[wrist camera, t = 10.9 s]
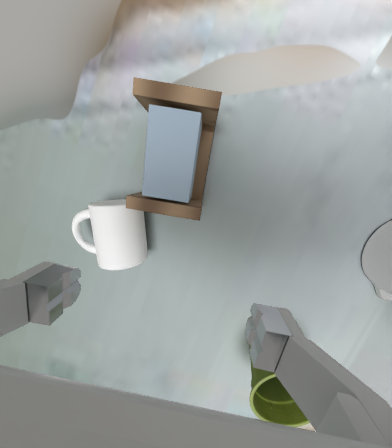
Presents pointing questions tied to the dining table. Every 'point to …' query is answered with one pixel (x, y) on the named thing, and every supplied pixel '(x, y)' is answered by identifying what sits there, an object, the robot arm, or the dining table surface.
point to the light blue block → (171, 153)
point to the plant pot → (273, 400)
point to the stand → (209, 108)
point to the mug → (114, 234)
